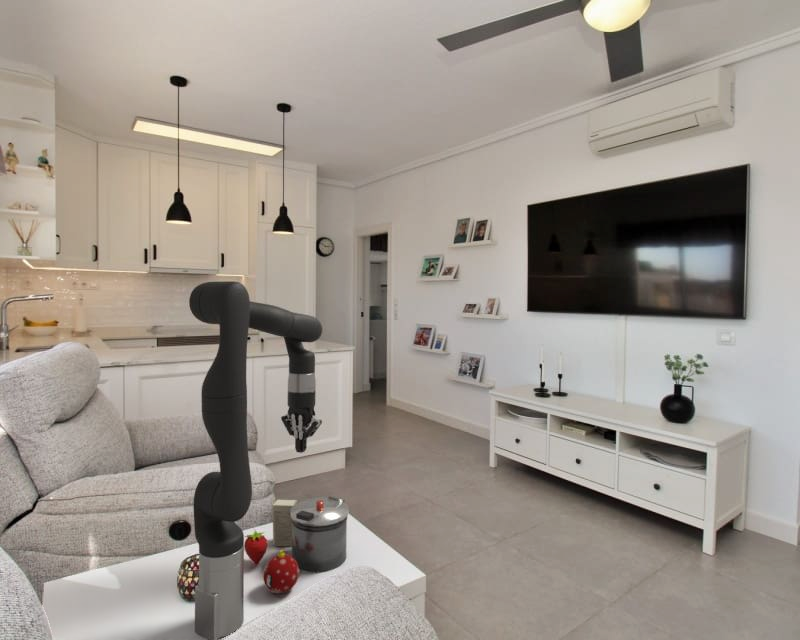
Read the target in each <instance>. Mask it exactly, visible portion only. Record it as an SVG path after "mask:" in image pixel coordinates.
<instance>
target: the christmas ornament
mask: <svg viewBox="0 0 800 640" xmlns="http://www.w3.org/2000/svg"><path fill="white" fill-rule="evenodd" d="M299 574H300V569H299V567H298V564H297V562H296V560H295V559H294V558H293V557H292V555H290V554H288V553H285V550H284V549H283V550H282V549H280V550H279V552H278V554H276V555H275V556H273V557H271V558H270V559H269V560H268V561H267V562H266V564H265V566H264V569H263V573H262V577H263V579H262V580H263V583H264V585H265V587H266V588H267V590H269V591H270V592H272V593H274V594H283V593H286V592H287V593H288V592H289V591H290V590H291V589H293V587H294V586H295V585H296V583H297V581H298V579H299V576H300V575H299Z"/></svg>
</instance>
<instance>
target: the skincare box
mask: <svg viewBox="0 0 800 640" xmlns="http://www.w3.org/2000/svg"><path fill="white" fill-rule="evenodd" d="M297 503H298V500H297V499H276V500H275V501H274V502H273V504H272V541H273V542H272V543H273V544H272V545H273V547H274V546H277V547H292V521H291V517H290V511H291V508H292V507H293V506H294V505H295V504H297Z"/></svg>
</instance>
